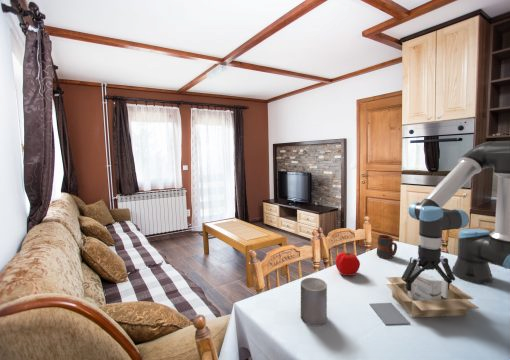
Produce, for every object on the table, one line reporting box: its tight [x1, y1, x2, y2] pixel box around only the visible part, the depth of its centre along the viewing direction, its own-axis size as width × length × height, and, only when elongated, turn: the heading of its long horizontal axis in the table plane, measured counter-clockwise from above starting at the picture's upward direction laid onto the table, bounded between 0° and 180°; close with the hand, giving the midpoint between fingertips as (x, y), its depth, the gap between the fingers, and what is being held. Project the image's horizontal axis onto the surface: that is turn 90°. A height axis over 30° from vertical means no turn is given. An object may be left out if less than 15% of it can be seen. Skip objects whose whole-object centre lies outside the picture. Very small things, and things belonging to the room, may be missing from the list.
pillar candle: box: [300, 277, 328, 327], centre depth 101 cm, size 10×10×15 cm
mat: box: [368, 302, 411, 326], centre depth 104 cm, size 9×13×1 cm
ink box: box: [413, 272, 442, 301], centre depth 108 cm, size 9×5×12 cm, turn 16°
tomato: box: [335, 251, 361, 276], centre depth 137 cm, size 12×12×11 cm
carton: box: [386, 275, 480, 318], centre depth 108 cm, size 27×25×6 cm
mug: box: [376, 234, 398, 260], centre depth 156 cm, size 9×12×12 cm
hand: (427, 297), depth 108 cm, fingers open, 13 cm apart
